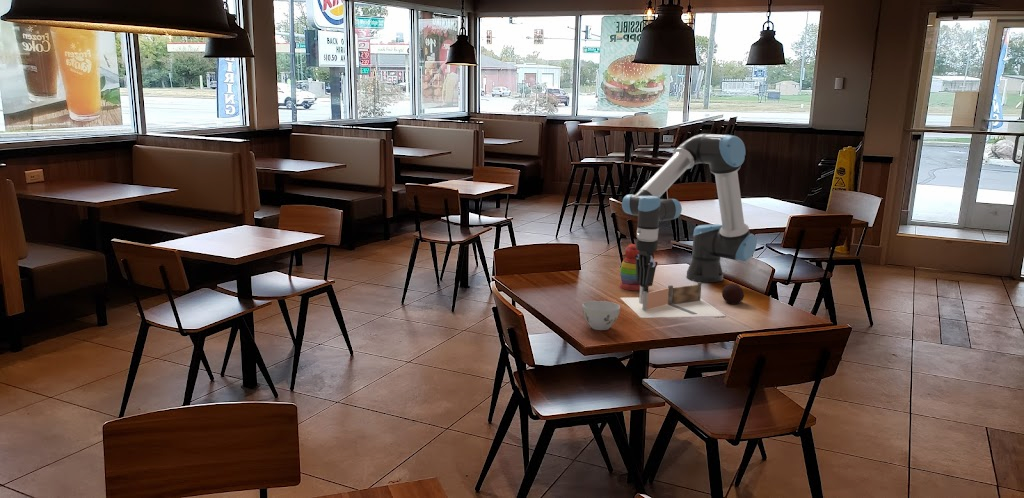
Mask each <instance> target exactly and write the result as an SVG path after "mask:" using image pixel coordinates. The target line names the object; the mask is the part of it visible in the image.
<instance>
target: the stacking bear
mask: <svg viewBox="0 0 1024 498" xmlns="http://www.w3.org/2000/svg"><path fill="white" fill-rule="evenodd" d="M624 252H625V258H624V259H623V260H622V262H621V266H620V270H619V271H620V272H619V274H620V281H621V282H620V285H619V287H620V289H623V290H628V291H637V292H640V285H639V282H637V275H636V261H635V255H638V253H639V251H638V250H637V249H636V244H635V243H634V244H633V242H632V243H630V244H629V245H627V246H626V247H625V250H624Z"/></svg>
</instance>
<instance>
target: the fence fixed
mask: <svg viewBox="0 0 1024 498" xmlns="http://www.w3.org/2000/svg"><path fill="white" fill-rule="evenodd" d="M702 283H703V282H700V281H697V284H691V285H684V286H678V287H677V286H673V285H672V284H669V285H668V286H667V288H669V292H668V304H669V305H671V304H672V303H673V304H675V303H682V302H689V301H696V300H700V298H701V295H702Z"/></svg>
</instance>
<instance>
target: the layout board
mask: <svg viewBox="0 0 1024 498" xmlns="http://www.w3.org/2000/svg"><path fill="white" fill-rule="evenodd" d="M620 300H622V302H624V303H625V304H626V305H627V306H628V307H629V308H630V309H631V310H632V311H633V312H634V313H635V314H636V315H637V316H638V317H639V318H640V319H647V318H649V319H652V318H653V319H654V318H659V319H660V318H691V317H694V318H695V317H696V318H697V317H698V318H699V317H702V318H703V317H704V318H705V317H714V318H715V319H716V318H717V319H719V318H720V319H721V318H727V316H726V315H725V314H724V313H723V312H722V311H720V310H718V309H717V308H715V307H714V306H713V305H711V304H710V303H708V302H706V301H705V300H704V299H702V298H701V297H700V300H696V301H689V302H682V303H675V304H673V303H672V304H671V305H669V304H667V305H663V306H659V307H655V308H651V309H647V310H642V308H643V304H640V303H639V297H638V296H636V297H620Z"/></svg>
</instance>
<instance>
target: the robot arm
mask: <svg viewBox="0 0 1024 498" xmlns="http://www.w3.org/2000/svg"><path fill="white" fill-rule="evenodd" d="M746 154H747V153H746V146H745V143H744V141H743V139H741V138H740V137H738V136H737V135H731V134H718V133H717V134H715V133H699V134H695V135H693V136H691V137H690V138H687V139H686V140H685V141H683V142H682V143H680V144H679V145H678V146H677V147H676V148H675V149H674V151H673V152H672V155H671V157H670V158H669V159H668V160H667V161H666V162H665V163H664V164H663V165H662V166H661V167H660V168H659V169H658V170H657V171H656V172H655V173H654V175H652V176H651V177H650V178H649V179H648V181H647V182H646V183H645V184H643V185H642V187H641V188H640V189H639V190H638V191H637V192H636V193H635V194H633V193H632V194H630V193H629V194H626V195H625V196H624V197H623V198H622V202H621V207H622V211H623V212H624V213H625V214H627V215H632V216H637V226H636V227H637V228H636V238H637V239H636V242H635V243H636V249H637V250H638V251H639V253H638V255H635V261H636V275H637V282H639V285H640V291H639V303H640V304H643V292H644V291H647V292H649V288H650V287H652V286H653V284H654V278H655V273H656V269H657V266H658V262H657V261H655V256H654V253H655V252H657V251H658V244H659V241H658V239H659V231H660V230H659V229H660V228H659V225H660V222H663V221H672V220H675V219H677V218H679V217H680V216H681V214H682V210H683V208H682V204H681V203H680V200H678V199H675V198H667V199H666V198H661V197H662V196H663V195H664V194H665V192H666V191H668V190H669V188H671V186H673V184H674V183H675V182H676V181H677V180H678V179H679V178H680V177H682V175H683V174H684V173H685V172H686V171H687V170H689V169H692V168H694V166H695V165H698V164H707V165H709V171H710V173H711V174H713V175H714V177H715V178H714V179H715V184H716V185H715V186H716V190H717V191H716V193H717V199H718V205H719V213H720V220H721V224H719V223H717V224H713V223H711V224H699V225H697V226H695V227H694V229H693V234H692V237H693V238H692V250H691V251H692V255H691V261H690V263H689V266H688V267H687V271H686V278H687V279H689V280H691V281H695V282H701V283H719V282H722V281H723V280H724V272H723V269H722V265H721V258H723V259H727V260H733V261H736V262H738V261H739V262H747V261H750V259H751V258H752V257H753V255H754V253H755V251H756V249H757V243H758V241H757V237H756V235H755V234H753V233H750V226H748V224H746V223H745V219H744V213H743V204H742V195H741V188H740V180H739V174H738V173H739V172H738V171H739V170H740V169H741V166H742V164H744V162H745V156H746Z"/></svg>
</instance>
